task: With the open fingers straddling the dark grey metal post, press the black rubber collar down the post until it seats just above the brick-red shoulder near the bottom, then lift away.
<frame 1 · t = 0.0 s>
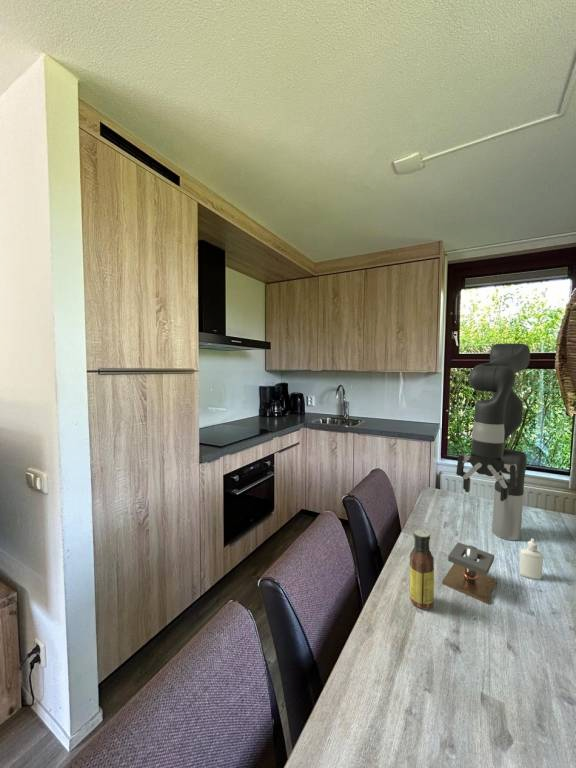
hand: (484, 495, 91), 29 cm above the table, fingers open, 8 cm apart
eye dropper bottle: (529, 576, 103), on the table
sauce bottle: (420, 602, 91), on the table
collar: (471, 557, 98), point 8 cm above the table, slide at 4.0 cm
post: (469, 583, 99), on the table
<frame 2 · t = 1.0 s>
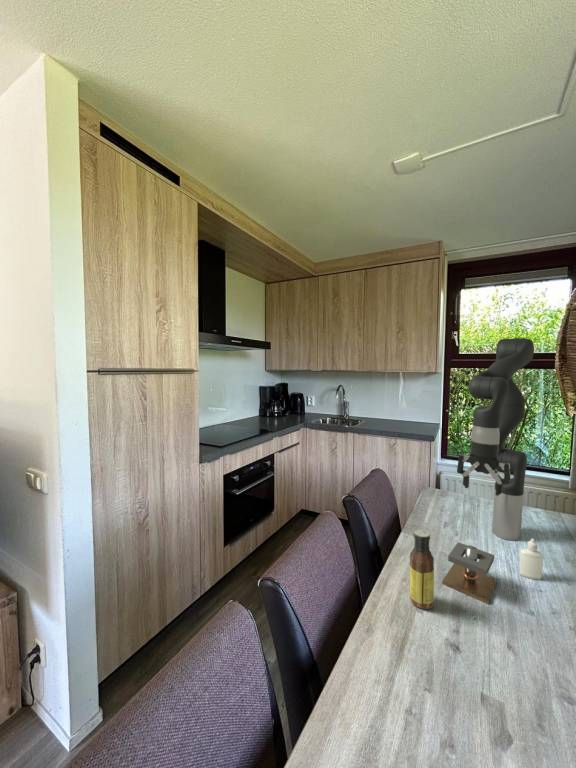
hand: (481, 491, 103), 26 cm above the table, fingers open, 8 cm apart
nothing on the table moved.
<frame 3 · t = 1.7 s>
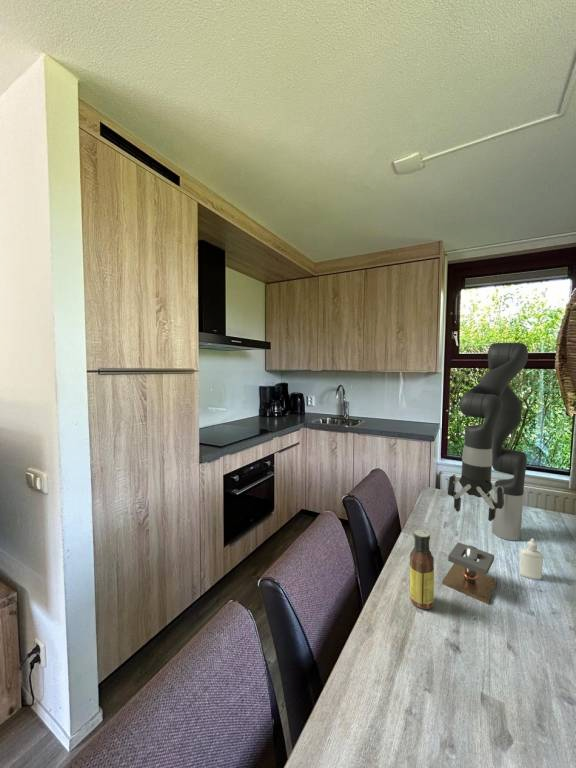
hand: (473, 515, 97), 21 cm above the table, fingers open, 8 cm apart
nothing on the table moved.
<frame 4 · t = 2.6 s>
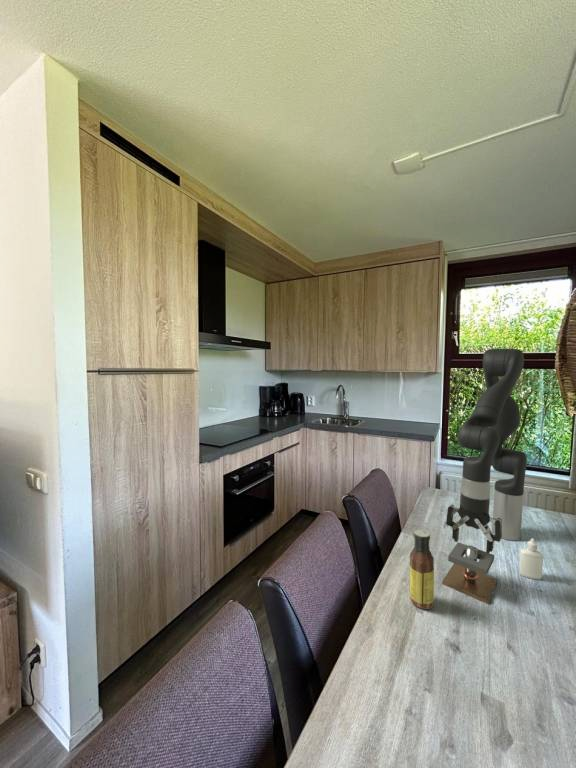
hand: (471, 546, 98), 12 cm above the table, fingers open, 8 cm apart
nothing on the table moved.
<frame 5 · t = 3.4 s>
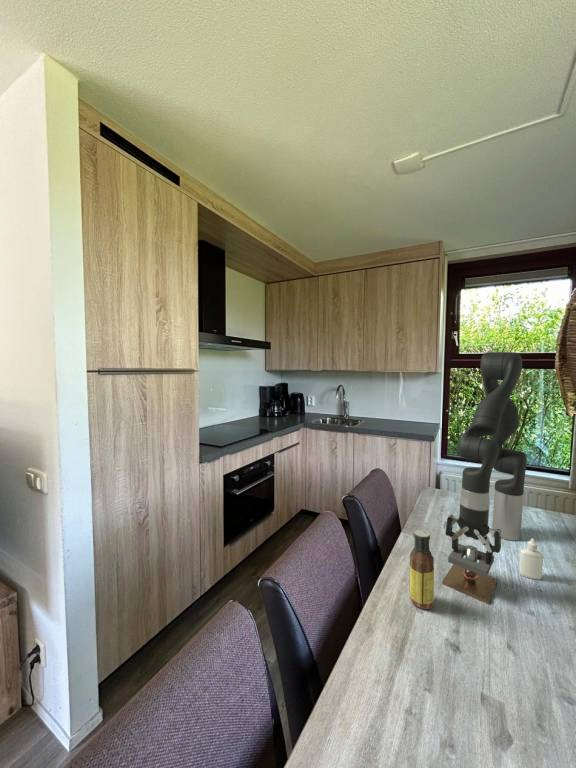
hand: (471, 556, 98), 8 cm above the table, fingers open, 8 cm apart
collar: (471, 559, 98), point 8 cm above the table, slide at 3.6 cm, touching gripper
everything else where it was.
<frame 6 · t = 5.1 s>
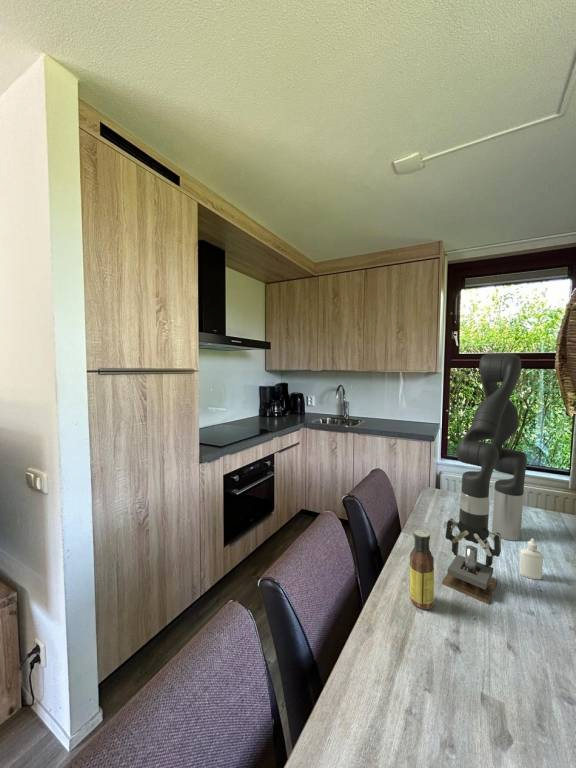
hand: (471, 560, 98), 7 cm above the table, fingers open, 8 cm apart
collar: (470, 570, 98), point 4 cm above the table, slide at -0.1 cm
everything else where it was.
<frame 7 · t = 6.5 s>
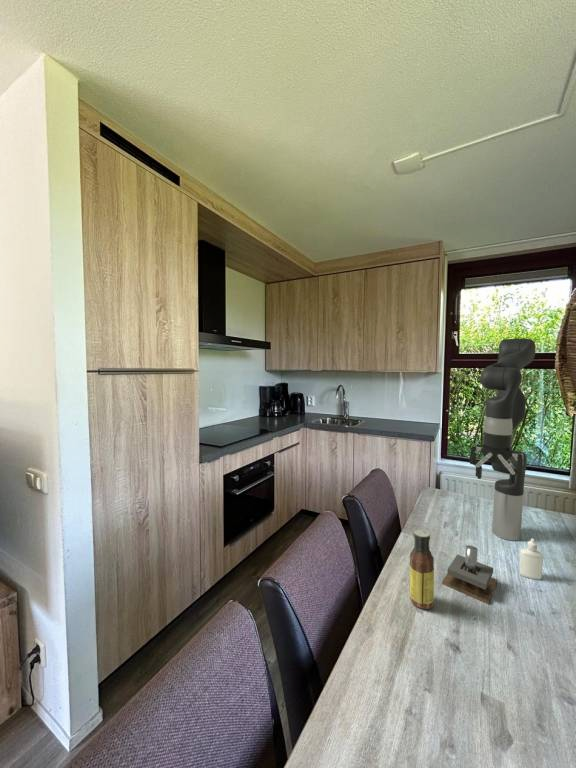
hand: (494, 481, 104), 29 cm above the table, fingers open, 8 cm apart
nothing on the table moved.
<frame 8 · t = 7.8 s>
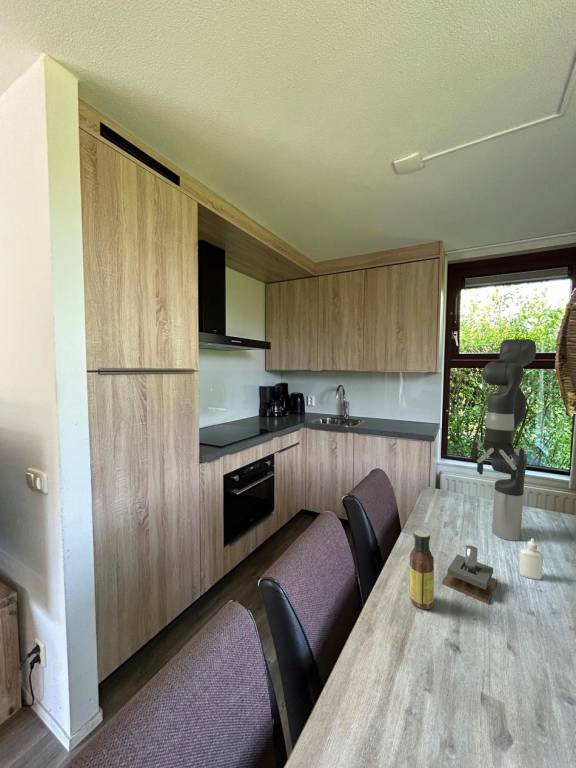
hand: (496, 477, 104), 30 cm above the table, fingers open, 8 cm apart
nothing on the table moved.
at the end: collar slide at -0.1 cm; collar touching nothing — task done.
